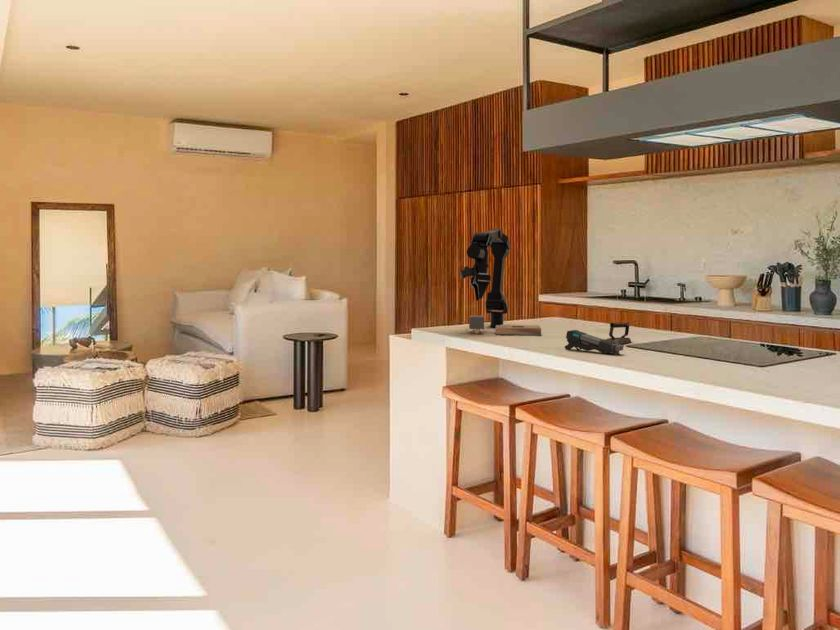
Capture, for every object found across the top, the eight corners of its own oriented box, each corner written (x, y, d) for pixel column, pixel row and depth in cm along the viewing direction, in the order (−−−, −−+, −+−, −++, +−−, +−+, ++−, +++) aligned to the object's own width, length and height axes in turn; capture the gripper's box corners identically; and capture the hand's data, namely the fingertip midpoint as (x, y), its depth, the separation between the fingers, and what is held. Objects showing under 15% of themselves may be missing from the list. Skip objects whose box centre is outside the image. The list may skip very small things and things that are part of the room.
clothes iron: (601, 344, 272) (604, 318, 273) (622, 349, 278) (625, 323, 279) (616, 345, 266) (619, 318, 267) (636, 349, 272) (639, 323, 273)
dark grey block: (469, 332, 306) (469, 315, 306) (483, 332, 306) (483, 315, 305) (469, 333, 301) (469, 317, 300) (483, 333, 300) (483, 317, 300)
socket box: (495, 332, 306) (495, 323, 306) (538, 332, 305) (538, 323, 304) (496, 335, 295) (496, 326, 295) (541, 335, 294) (541, 327, 294)
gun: (567, 347, 260) (576, 321, 257) (615, 372, 248) (625, 345, 245) (560, 348, 256) (569, 323, 253) (608, 373, 245) (618, 347, 241)
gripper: (459, 263, 311) (457, 300, 310) (464, 258, 293) (462, 296, 292) (485, 265, 312) (482, 301, 311) (491, 260, 293) (489, 298, 292)
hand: (478, 299), depth 301 cm, fingers open, 9 cm apart
